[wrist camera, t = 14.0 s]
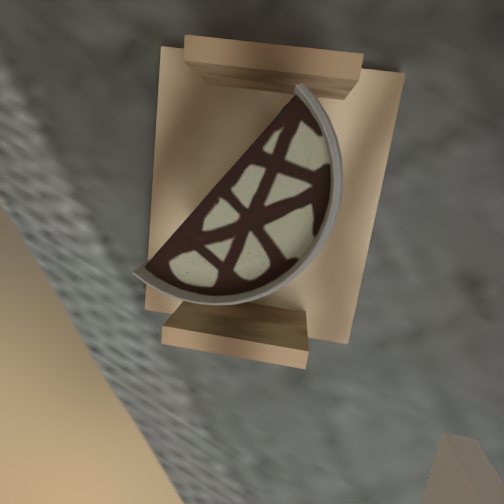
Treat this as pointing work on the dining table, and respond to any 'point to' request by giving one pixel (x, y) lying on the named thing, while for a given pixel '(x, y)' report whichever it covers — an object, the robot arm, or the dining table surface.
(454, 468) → the robot arm
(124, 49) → the dining table surface
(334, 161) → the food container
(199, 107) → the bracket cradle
